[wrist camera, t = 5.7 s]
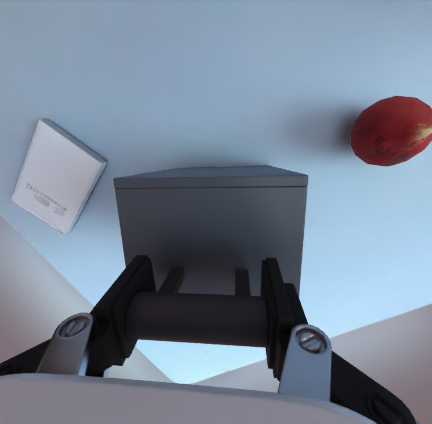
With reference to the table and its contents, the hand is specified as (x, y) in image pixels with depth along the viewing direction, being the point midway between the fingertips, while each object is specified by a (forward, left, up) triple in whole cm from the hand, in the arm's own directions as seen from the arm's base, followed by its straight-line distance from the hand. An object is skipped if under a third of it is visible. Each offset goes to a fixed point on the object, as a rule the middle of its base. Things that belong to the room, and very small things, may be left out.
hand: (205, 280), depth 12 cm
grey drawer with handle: (-3, +4, -7) cm, 8 cm away
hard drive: (-18, -12, -16) cm, 27 cm away
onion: (+7, +15, -16) cm, 23 cm away
